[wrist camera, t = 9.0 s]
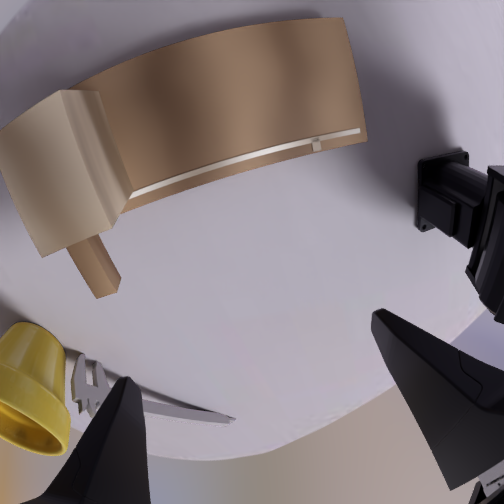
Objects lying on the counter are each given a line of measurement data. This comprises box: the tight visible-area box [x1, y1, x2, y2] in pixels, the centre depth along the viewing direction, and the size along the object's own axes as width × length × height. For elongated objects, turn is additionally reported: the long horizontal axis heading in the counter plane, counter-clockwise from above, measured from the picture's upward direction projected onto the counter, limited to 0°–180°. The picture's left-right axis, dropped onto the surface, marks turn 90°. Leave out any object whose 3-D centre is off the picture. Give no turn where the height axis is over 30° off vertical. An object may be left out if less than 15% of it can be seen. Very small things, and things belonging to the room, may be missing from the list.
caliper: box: [71, 354, 236, 427], centre depth 25 cm, size 20×1×6 cm, turn 44°
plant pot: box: [0, 322, 71, 456], centre depth 17 cm, size 10×10×10 cm
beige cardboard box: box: [0, 90, 134, 299], centre depth 12 cm, size 4×9×5 cm, turn 14°
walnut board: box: [67, 18, 368, 214], centre depth 14 cm, size 20×8×2 cm, turn 104°
